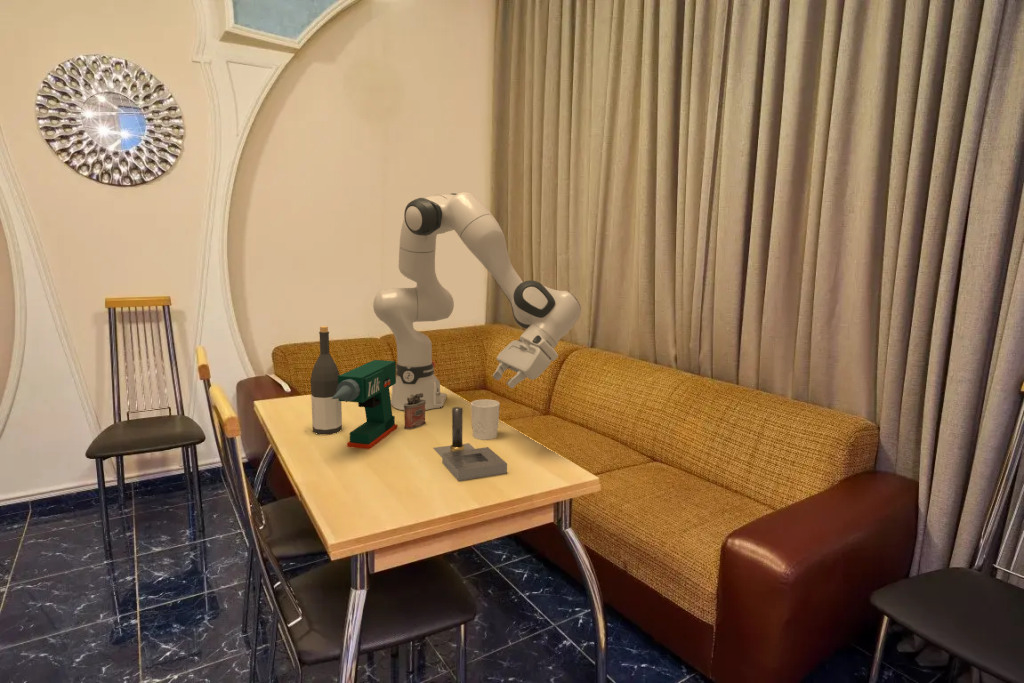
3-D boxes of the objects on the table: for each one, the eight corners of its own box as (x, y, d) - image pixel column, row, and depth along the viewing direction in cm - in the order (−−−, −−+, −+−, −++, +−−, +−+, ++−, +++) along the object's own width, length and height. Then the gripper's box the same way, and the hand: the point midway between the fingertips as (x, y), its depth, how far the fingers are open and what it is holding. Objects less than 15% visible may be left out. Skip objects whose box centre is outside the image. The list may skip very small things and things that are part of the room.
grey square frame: (442, 464, 145) (442, 453, 144) (487, 458, 150) (488, 447, 149) (458, 483, 134) (458, 470, 134) (506, 475, 139) (507, 463, 139)
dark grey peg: (452, 448, 155) (452, 406, 153) (465, 449, 154) (466, 407, 152) (448, 453, 151) (448, 409, 150) (462, 454, 151) (462, 410, 149)
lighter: (410, 431, 169) (409, 398, 168) (401, 429, 171) (400, 396, 170) (428, 425, 176) (428, 392, 174) (419, 423, 178) (419, 390, 176)
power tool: (347, 468, 142) (345, 386, 139) (320, 465, 143) (318, 384, 140) (399, 428, 173) (398, 360, 169) (376, 426, 174) (375, 359, 171)
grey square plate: (433, 449, 155) (433, 447, 155) (468, 444, 159) (468, 443, 159) (444, 462, 146) (444, 460, 146) (482, 457, 150) (482, 455, 150)
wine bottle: (325, 437, 164) (321, 329, 159) (306, 431, 168) (302, 326, 163) (348, 429, 170) (345, 326, 165) (329, 424, 175) (326, 323, 170)
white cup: (499, 433, 170) (499, 399, 168) (498, 442, 162) (499, 407, 160) (471, 432, 170) (472, 399, 168) (469, 442, 162) (470, 406, 160)
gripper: (512, 330, 165) (479, 366, 163) (546, 341, 147) (509, 382, 145) (526, 345, 168) (494, 381, 165) (561, 357, 149) (525, 398, 147)
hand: (501, 382), depth 155 cm, fingers open, 8 cm apart
